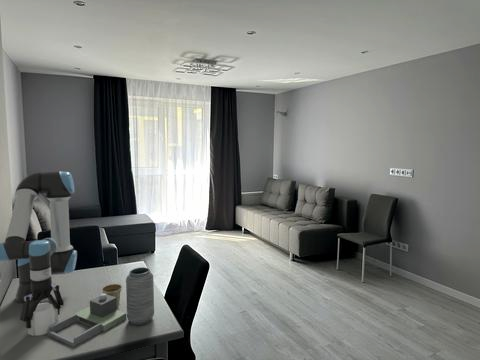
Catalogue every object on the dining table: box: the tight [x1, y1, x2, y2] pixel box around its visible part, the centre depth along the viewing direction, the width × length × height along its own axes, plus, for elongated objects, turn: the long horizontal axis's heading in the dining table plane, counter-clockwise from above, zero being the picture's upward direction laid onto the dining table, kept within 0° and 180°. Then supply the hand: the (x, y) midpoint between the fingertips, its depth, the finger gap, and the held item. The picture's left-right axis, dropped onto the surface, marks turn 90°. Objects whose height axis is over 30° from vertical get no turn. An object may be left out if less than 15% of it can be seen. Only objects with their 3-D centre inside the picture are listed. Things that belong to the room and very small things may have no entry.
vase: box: [125, 266, 155, 326], centre depth 144 cm, size 12×12×23 cm
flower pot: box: [101, 283, 123, 307], centre depth 159 cm, size 9×9×9 cm
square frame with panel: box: [46, 292, 127, 347], centre depth 140 cm, size 20×25×10 cm
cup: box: [32, 302, 55, 336], centre depth 138 cm, size 8×12×10 cm
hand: (43, 328), depth 138 cm, fingers open, 9 cm apart
